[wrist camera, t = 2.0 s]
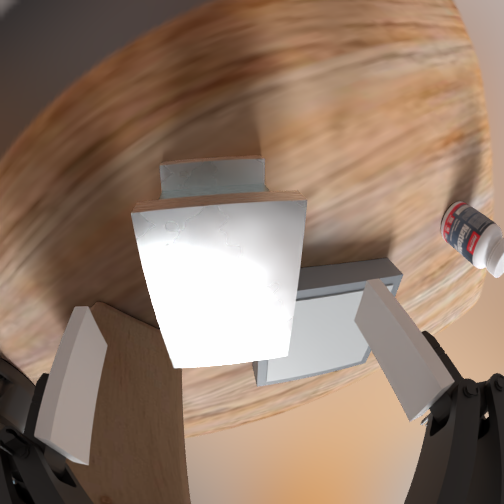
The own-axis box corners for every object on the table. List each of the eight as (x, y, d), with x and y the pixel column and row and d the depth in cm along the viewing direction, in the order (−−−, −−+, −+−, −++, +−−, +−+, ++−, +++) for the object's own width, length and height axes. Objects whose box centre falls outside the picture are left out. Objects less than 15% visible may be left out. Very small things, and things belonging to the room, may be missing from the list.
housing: (178, 278, 23) (174, 368, 15) (161, 161, 17) (130, 213, 10) (258, 271, 24) (287, 355, 16) (261, 155, 18) (307, 200, 11)
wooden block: (96, 293, 22) (49, 514, 5) (185, 336, 26) (201, 536, 10) (73, 346, 25) (45, 507, 8) (147, 378, 29) (148, 530, 13)
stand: (252, 366, 31) (257, 387, 28) (253, 272, 24) (260, 296, 21) (355, 346, 33) (365, 363, 30) (387, 257, 26) (404, 275, 23)
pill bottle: (440, 208, 24) (498, 250, 16) (467, 194, 23) (521, 230, 16) (438, 246, 27) (486, 291, 19) (464, 231, 26) (510, 270, 19)
